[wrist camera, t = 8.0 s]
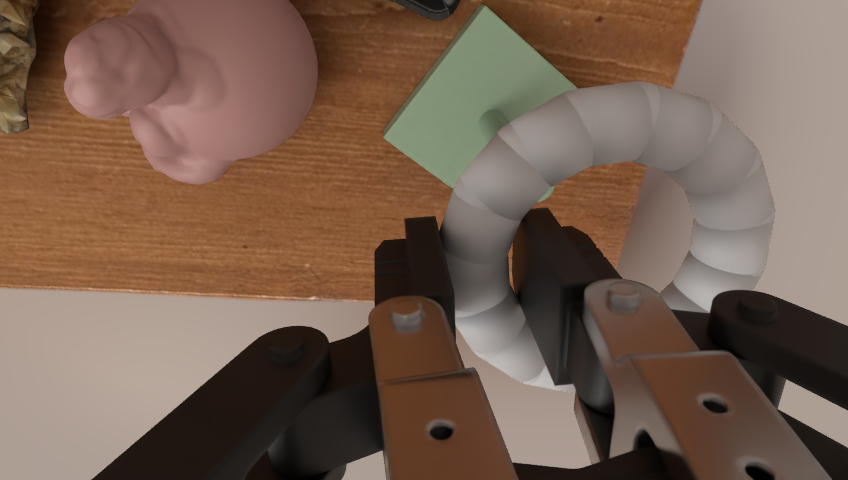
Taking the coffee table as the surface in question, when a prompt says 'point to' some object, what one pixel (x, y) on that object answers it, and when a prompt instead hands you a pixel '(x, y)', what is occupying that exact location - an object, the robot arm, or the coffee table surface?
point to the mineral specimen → (15, 61)
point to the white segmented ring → (591, 146)
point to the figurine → (197, 79)
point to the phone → (431, 7)
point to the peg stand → (472, 96)
